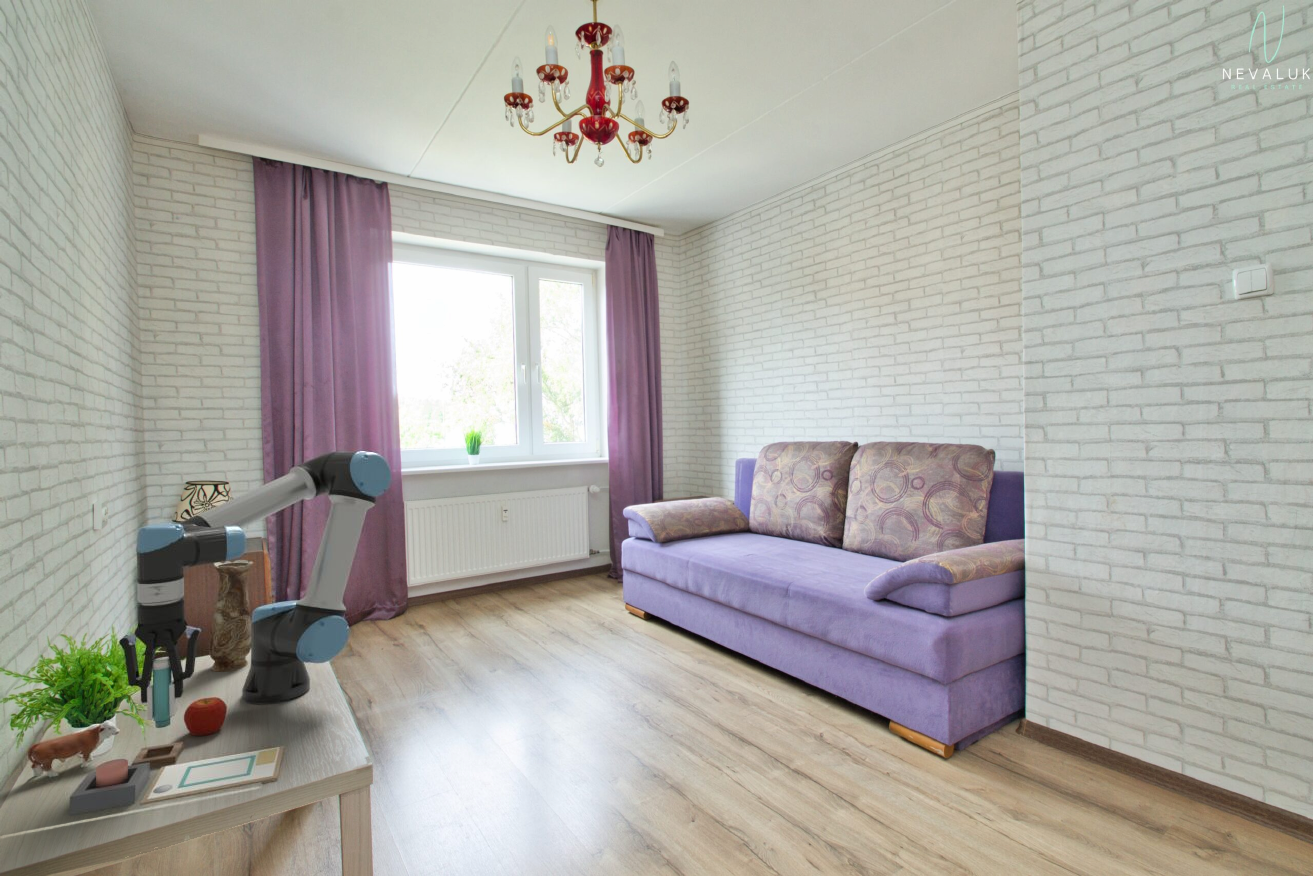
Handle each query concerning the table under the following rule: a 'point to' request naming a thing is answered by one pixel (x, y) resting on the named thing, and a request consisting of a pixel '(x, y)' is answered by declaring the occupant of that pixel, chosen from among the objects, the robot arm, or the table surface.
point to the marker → (161, 691)
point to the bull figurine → (69, 747)
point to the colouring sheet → (215, 774)
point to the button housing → (109, 791)
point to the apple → (205, 716)
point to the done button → (111, 773)
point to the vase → (231, 617)
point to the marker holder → (159, 755)
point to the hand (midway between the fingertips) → (162, 715)
